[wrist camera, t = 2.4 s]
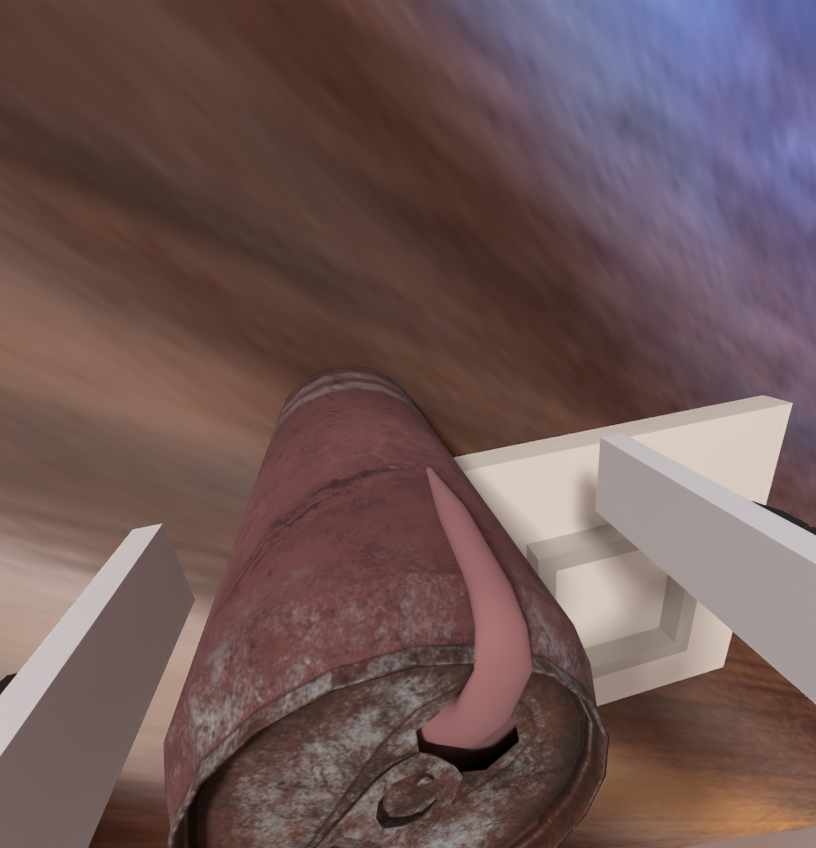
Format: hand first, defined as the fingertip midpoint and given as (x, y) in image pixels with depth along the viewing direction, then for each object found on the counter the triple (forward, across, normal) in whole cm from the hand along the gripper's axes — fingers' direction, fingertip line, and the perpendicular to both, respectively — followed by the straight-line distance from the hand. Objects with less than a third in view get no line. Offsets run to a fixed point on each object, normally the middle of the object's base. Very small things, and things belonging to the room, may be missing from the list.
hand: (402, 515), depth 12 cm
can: (+7, -1, +1) cm, 7 cm away
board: (+7, +12, -12) cm, 18 cm away
